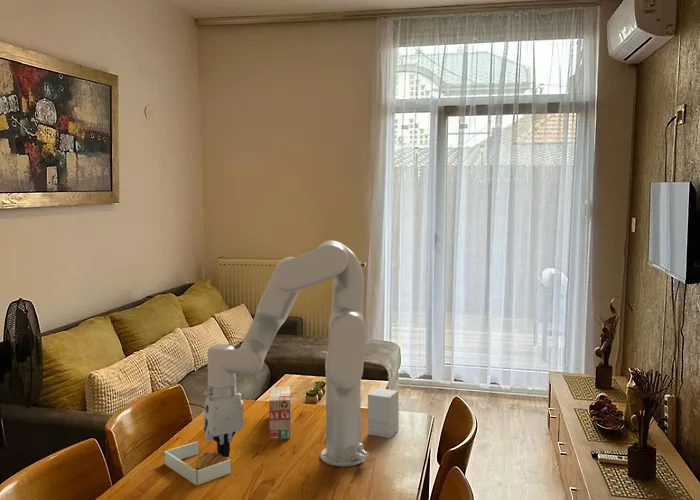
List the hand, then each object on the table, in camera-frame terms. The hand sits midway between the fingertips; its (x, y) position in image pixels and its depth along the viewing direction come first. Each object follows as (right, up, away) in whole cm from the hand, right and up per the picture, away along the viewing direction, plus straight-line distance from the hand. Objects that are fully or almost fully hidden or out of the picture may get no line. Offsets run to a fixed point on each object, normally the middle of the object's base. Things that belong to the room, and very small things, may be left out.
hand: (223, 456), depth 172 cm
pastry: (-2, -2, -4) cm, 5 cm away
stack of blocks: (+13, +1, +25) cm, 28 cm away
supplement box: (+45, 0, +20) cm, 49 cm away
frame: (-6, -2, -5) cm, 8 cm away
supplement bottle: (-2, +1, +27) cm, 27 cm away
